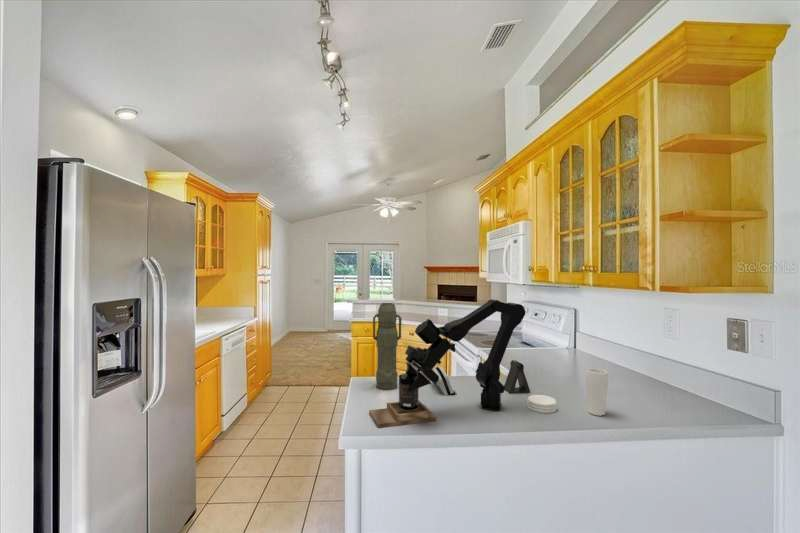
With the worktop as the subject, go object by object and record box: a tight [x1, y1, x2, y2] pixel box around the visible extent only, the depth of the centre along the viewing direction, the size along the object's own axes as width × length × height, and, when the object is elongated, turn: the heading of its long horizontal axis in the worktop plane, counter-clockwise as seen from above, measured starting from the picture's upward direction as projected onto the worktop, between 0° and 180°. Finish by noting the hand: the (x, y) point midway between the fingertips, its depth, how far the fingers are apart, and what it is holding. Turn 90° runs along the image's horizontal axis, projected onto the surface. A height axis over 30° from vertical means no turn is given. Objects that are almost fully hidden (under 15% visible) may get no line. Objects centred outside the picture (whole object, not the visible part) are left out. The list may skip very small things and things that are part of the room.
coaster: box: [526, 394, 558, 414], centre depth 140 cm, size 10×10×4 cm
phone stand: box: [503, 359, 531, 395], centre depth 159 cm, size 9×6×12 cm, turn 99°
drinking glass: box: [586, 367, 609, 417], centre depth 135 cm, size 7×7×15 cm
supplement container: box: [398, 373, 420, 410], centre depth 131 cm, size 7×7×10 cm
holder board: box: [368, 400, 438, 429], centre depth 131 cm, size 20×12×3 cm, turn 108°
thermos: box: [372, 302, 403, 391], centre depth 162 cm, size 9×12×35 cm
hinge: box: [432, 365, 458, 397], centre depth 161 cm, size 17×5×10 cm, turn 7°
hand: (404, 387), depth 131 cm, fingers closed on supplement container, 7 cm apart
